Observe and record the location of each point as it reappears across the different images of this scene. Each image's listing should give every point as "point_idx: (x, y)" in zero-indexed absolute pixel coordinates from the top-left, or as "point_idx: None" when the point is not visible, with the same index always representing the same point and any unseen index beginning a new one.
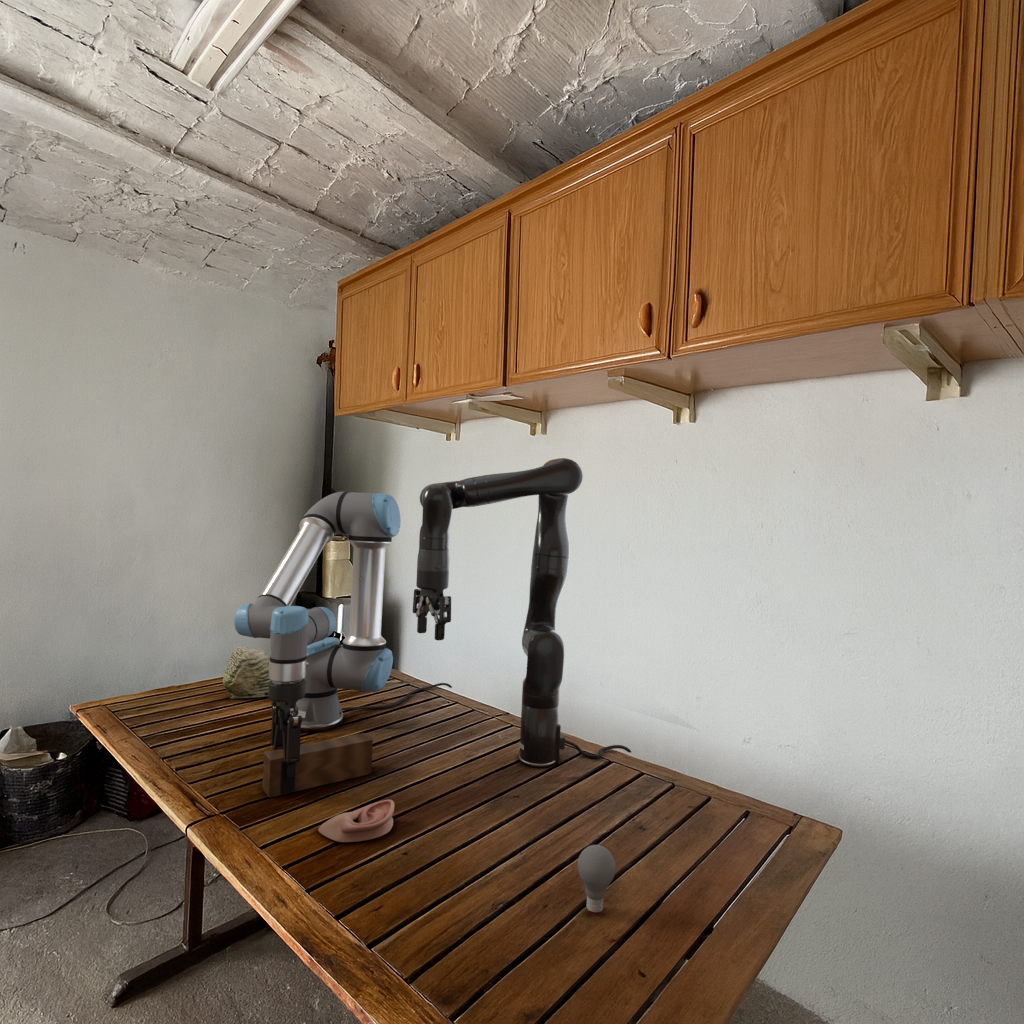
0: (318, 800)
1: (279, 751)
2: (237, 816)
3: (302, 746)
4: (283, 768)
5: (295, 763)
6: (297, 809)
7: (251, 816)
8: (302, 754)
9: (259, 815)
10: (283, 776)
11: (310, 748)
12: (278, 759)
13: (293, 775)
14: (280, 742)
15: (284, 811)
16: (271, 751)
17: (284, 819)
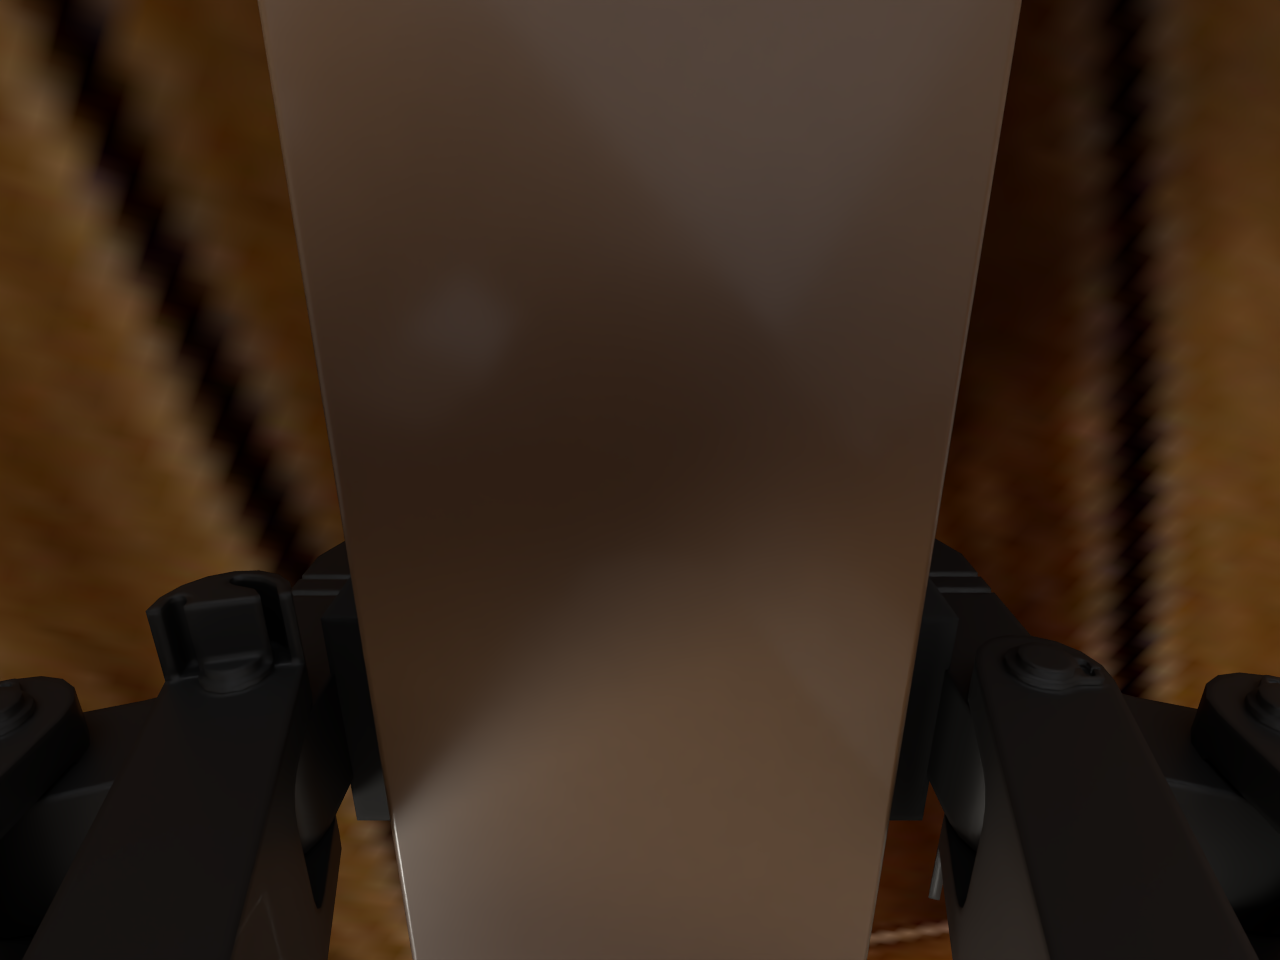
0: (1147, 231)
1: (521, 845)
2: (924, 888)
3: (449, 350)
4: None
5: (938, 591)
6: (1164, 491)
7: None
8: (932, 495)
9: None
10: None
11: (710, 192)
12: (866, 919)
13: (961, 561)
14: (303, 920)
15: (1109, 599)
16: (453, 945)
17: (1247, 637)
